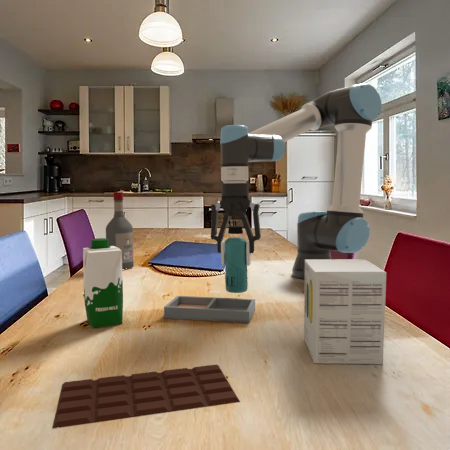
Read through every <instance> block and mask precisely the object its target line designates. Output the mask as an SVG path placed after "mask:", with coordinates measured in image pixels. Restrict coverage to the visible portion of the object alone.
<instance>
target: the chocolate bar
mask: <svg viewBox="0 0 450 450" xmlns="http://www.w3.org/2000/svg"><path fill="white" fill-rule="evenodd" d="M240 402H241V401H240V399H239V397H238V396H237V394H236V392H235V391H234V389H233V387H232V386H231V384H230V382H229V381H228V379H227V377H226V375H225V374H224V372H223V371H222V369H221V367H220V366H219V365H218V364H216V363H215V364H209V365H200V366H194V367H192V368H187V367H183V368H175V369H168V370H166V369H165V370H163V371H162V372H161V371H160V372H157V371H149V372H141V373H132V374H131V375H129V376H128V375H124V374H123V375H115V376H113V375H112V376H107V377H106V376H104V377H99V378H97V379H92V378H89V379H79V380H70V381H65V382H63V383H62V385H61V389H60V394H59V399H58V403H57V407H56V412H55V416H54V420H53V425H52V429H57V427H59V428H64V427H65V428H66V427H72V426H79V425H85V424H93V423H100V422H107V421H113V420H114V421H115V420H121V419H122V420H123V419H127V418H134V417H142V416H148V415H156V414H163V413H164V414H165V413H169V412H170V413H171V412H177V411H184V410H185V411H186V410H191V409H199V408H206V407H213V406H220V405H226V404H234V403H240Z"/></svg>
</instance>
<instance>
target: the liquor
mask: <svg viewBox="0 0 450 450" xmlns="http://www.w3.org/2000/svg"><path fill="white" fill-rule="evenodd" d="M123 200H124V192H123V191H114V192H113V207H114V209H113V211H114V212H113V213H114V214H113V217H112V219H111V220H110V221H109V222H108V223H107V225H106V227H105V238H106V239H108V241H109V246H115V247H117V248H119V249H120V250H122V269H126V268H131V267H133V268H134V265H135V264H134V234H133V230H134V228H133V225H132V224H131V222H130V221H129V220H128V219H127V218H126V217H125V213H124V201H123ZM131 269H132V268H131ZM126 270H127V269H126Z"/></svg>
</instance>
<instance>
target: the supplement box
mask: <svg viewBox="0 0 450 450" xmlns="http://www.w3.org/2000/svg"><path fill="white" fill-rule="evenodd" d="M386 293H387V272H386V271H385V270H383V269H382V268H379V267H378V266H377V265H375V264H373V263H372V262H370V261H369V260H367V259H360V258H359V259H358V258H357V259H356V258H355V259H354V258H353V259H350V258H349V259H347V258H346V259H345V258H343V259H341V258H339V259H337V258H335V259H334V258H333V259H305V279H304V304H303V305H304V309H303V310H304V311H303V312H304V313H303V314H304V316H303V319H304V320H303V321H304V322H303V339H304V342H305V344H306V347H307V349H308V352H309V354H310V357H311V359H312V362H313V363H314V364H340V365H341V364H344V365H345V364H346V365H348V364H349V365H351V364H352V365H383V364H384V344H385V343H384V341H385V324H386V323H385V320H386V317H385V315H386V299H387V298H386V297H387V295H386Z"/></svg>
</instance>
